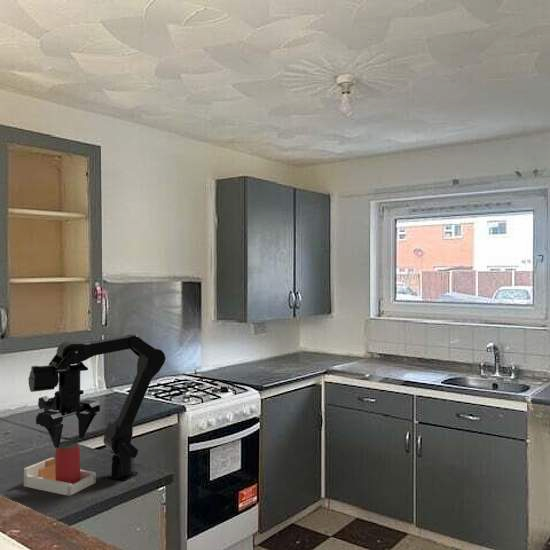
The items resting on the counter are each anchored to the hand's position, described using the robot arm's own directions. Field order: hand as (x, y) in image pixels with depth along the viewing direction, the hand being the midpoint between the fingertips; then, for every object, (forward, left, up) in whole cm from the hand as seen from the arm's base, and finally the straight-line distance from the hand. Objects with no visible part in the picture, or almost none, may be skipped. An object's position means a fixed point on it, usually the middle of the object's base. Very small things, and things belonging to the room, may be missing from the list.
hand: (69, 443), depth 158 cm
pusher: (-1, -7, -13) cm, 15 cm away
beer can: (-1, -1, -13) cm, 13 cm away
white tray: (-1, -4, -13) cm, 13 cm away
